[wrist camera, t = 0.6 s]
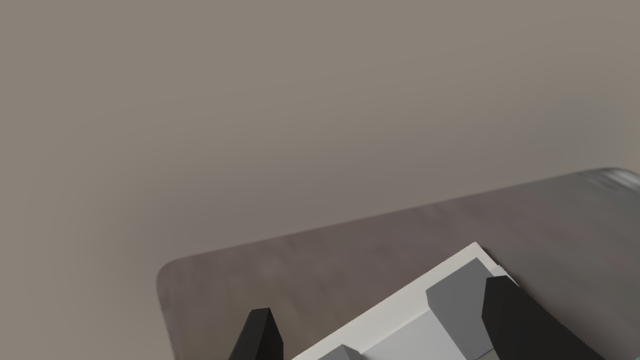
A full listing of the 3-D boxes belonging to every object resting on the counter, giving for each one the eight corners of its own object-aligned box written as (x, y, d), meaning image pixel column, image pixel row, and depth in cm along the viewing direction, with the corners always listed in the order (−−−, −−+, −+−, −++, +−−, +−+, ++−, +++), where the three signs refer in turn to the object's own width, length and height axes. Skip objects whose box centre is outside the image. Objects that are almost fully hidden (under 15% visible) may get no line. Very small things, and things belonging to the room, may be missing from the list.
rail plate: (568, 348, 23) (604, 336, 18) (347, 494, 22) (318, 524, 17) (474, 244, 28) (481, 212, 23) (294, 360, 28) (260, 354, 23)
